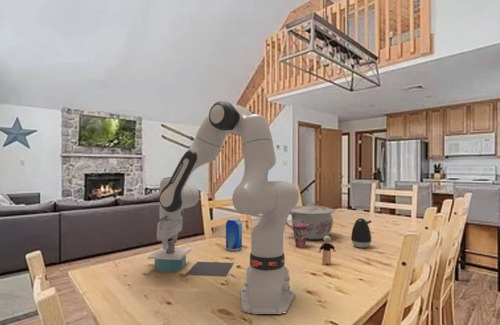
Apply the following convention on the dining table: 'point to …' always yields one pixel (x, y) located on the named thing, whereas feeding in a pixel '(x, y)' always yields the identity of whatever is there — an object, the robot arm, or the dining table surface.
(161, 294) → the dining table surface
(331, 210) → the chamber pot
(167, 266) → the bowl
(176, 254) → the cover board
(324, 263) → the grandmother figurine
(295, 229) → the cup
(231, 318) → the dining table surface
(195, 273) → the mat
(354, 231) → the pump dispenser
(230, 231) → the beer can
